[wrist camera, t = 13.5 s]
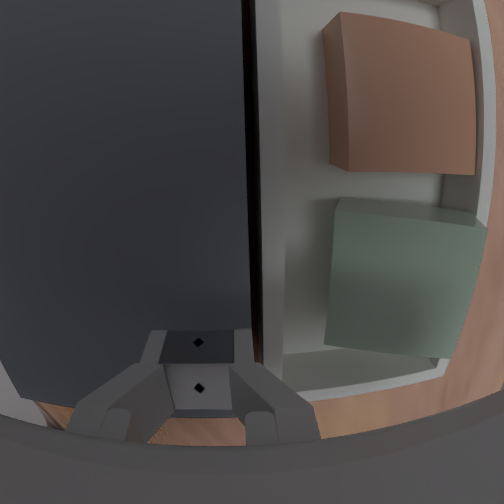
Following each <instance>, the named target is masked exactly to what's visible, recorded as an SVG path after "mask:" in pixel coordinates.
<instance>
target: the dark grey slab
mask: <svg viewBox="0 0 504 504" xmlns="http://www.w3.org/2000/svg"><path fill="white" fill-rule="evenodd" d="M244 328H251V329H252V326H251V298H250V269H249V240H248V210H247V180H246V148H245V116H244V84H243V50H242V15H241V0H0V360H1V362H2V364H3V366H4V368H5V370H6V372H7V374H8V376H9V378H10V379H11V381H12V383H13V385H14V387H15V388H16V390H17V392H18V394H19V395H20V397H21V398H25V399H30V400H34V401H39V402H44V403H49V404H54V405H59V406H65V407H71V408H75V407H76V405H77V403H78V402H79V401H80V400H82V399H83V398H85V397H86V396H87V395H89V394H90V393H92V392H93V391H95V390H96V389H98V388H99V387H101V386H102V385H104V384H105V383H107V382H108V381H109V380H111V379H112V378H114V377H115V376H117V375H118V374H120V373H121V372H123V371H124V370H125V369H127V368H128V367H130V366H131V365H133V364H134V363H139V362H140V360H141V357H142V354H143V351H144V348H145V346H146V343H147V340H148V337H149V335H150V332H151V331H152V330H168V331H169V330H201V331H212V330H234V329H244ZM170 417H175V418H235V417H237V416H236V415H235V413H234V412H233V411H232V410H214V409H175V412H174V413H173V414H172V415H171V416H170Z"/></svg>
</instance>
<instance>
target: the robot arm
mask: <svg viewBox="0 0 504 504" xmlns="http://www.w3.org/2000/svg"><path fill="white" fill-rule="evenodd" d="M175 409H214V410H232V411H233V412H234V413H235V415H236V416H237V417H238V419H239V420H240V421H241V422H242V424H243V425H244V426H245V427H246V446H179V445H161V444H149V443H147V441H148V440H149V439H150V438H151V437H152V436H153V435H154V434H155V433H156V432H157V430H158V429H159V428H160V427H161V426H162V425H163V424H164V423H165V422H166V421H167V419H168V418H169V417H170V416H171V415H172V414H173V413H174V412H175ZM0 504H504V389H503V390H501V391H498V392H496V393H494V394H491V395H489V396H486V397H483V398H481V399H478V400H476V401H473V402H470V403H467V404H465V405H462V406H459V407H456V408H453V409H450V410H447V411H444V412H441V413H437V414H434V415H431V416H427V417H424V418H420V419H417V420H413V421H409V422H406V423H402V424H398V425H394V426H389V427H385V428H380V429H376V430H371V431H366V432H361V433H356V434H350V435H345V436H339V437H333V438H326V439H321V436H320V432H319V428H318V424H317V421H316V417H315V413H314V409H313V406H312V405H311V404H310V403H308V402H307V401H306V400H304V399H303V398H302V397H301V396H299V395H298V394H297V393H296V392H294V391H293V390H292V389H291V388H290V387H288V386H287V385H286V384H285V383H283V382H282V381H281V380H280V379H279V378H277V377H276V376H275V375H274V374H273V373H271V372H270V371H269V370H268V369H267V368H265V367H264V366H263V365H262V364H261V363H255V362H254V351H253V339H252V329H251V328H244V329H234V330H212V331H201V330H169V331H168V330H152V331H151V332H150V335H149V337H148V340H147V343H146V346H145V348H144V351H143V354H142V357H141V360H140V362H139V363H134V364H133V365H131V366H130V367H128V368H127V369H125V370H124V371H123V372H121V373H120V374H118V375H117V376H115V377H114V378H112V379H111V380H109V381H108V382H107V383H105V384H104V385H102V386H101V387H99V388H98V389H96V390H95V391H93V392H92V393H90V394H89V395H87V396H86V397H85V398H83V399H82V400H80V401H79V402H78V403H77V405H76V407H75V409H74V411H73V414H72V416H71V418H70V420H69V423H68V425H67V427H66V430H65V431H62V430H57V429H53V428H48V427H44V426H40V425H36V424H32V423H29V422H25V421H21V420H18V419H14V418H11V417H8V416H4V415H1V414H0Z"/></svg>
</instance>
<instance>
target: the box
mask: <svg viewBox="0 0 504 504" xmlns="http://www.w3.org/2000/svg"><path fill="white" fill-rule="evenodd" d="M249 2H250V32H251V64H252V97H253V131H254V167H255V204H256V243H257V285H258V329H259V363H261V364H262V365H263V366H264V367H265V368H267V369H268V370H269V371H270V372H271V373H273V374H274V375H275V376H276V377H277V378H279V379H280V380H281V381H282V382H283V383H285V384H286V385H287V386H288V387H290V388H291V389H292V390H293V391H294V392H296V393H297V394H298V395H299V396H301V397H302V398H303V399H304V400H306V401H307V402H308V401H316V400H324V399H332V398H339V397H346V396H352V395H358V394H364V393H370V392H375V391H380V390H385V389H390V388H395V387H400V386H405V385H409V384H413V383H418V382H422V381H426V380H430V379H434V378H437V377H441V376H443V375H444V373H445V370H446V368H447V365H448V363H449V360H450V359H443V358H431V357H419V356H409V355H399V354H390V353H381V352H373V351H365V350H357V349H350V348H343V347H336V346H329V345H323V344H324V336H325V327H326V318H327V309H328V299H329V288H330V276H331V264H332V250H333V235H334V217H335V209H336V207H337V205H338V203H339V200H340V198H341V197H347V198H358V199H369V200H379V201H388V202H397V203H406V204H415V205H423V206H431V207H439V208H446V209H453V210H460V211H467V212H471V213H472V214H473V215H474V216H475V217H476V218H477V219H478V220H479V221H480V222H481V223H482V224H483V225H484V226H485V227H486V228H487V222H488V215H489V209H490V201H491V193H492V185H493V174H494V162H495V144H496V93H495V75H494V63H493V54H492V45H491V38H490V31H489V25H488V19H487V14H486V8H485V4H484V0H249ZM339 12H349V13H357V14H364V15H370V16H376V17H382V18H388V19H393V20H398V21H403V22H407V23H412V24H416V25H420V26H424V27H428V28H432V29H435V30H439V31H442V32H446V33H449V34H452V35H456V36H459V37H462V38H465V39H468V40H470V47H471V54H472V63H473V73H474V85H475V103H476V159H475V175H461V174H442V173H413V172H348V171H345V170H343V169H341V168H338V167H336V166H334V165H331V164H330V159H329V124H328V102H327V85H326V70H325V57H324V46H323V35H322V29H323V28H324V27H325V26H326V25H327V24H328V23H329V22H330V21H331V20H332V19H333V18H334V17H335V16H336V15H337V14H338V13H339Z"/></svg>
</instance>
